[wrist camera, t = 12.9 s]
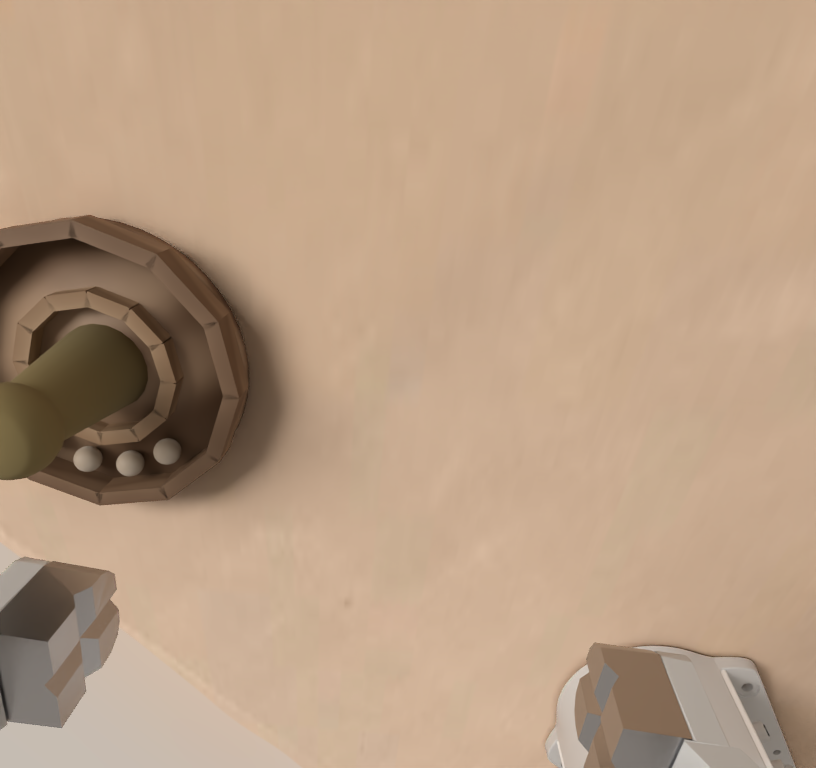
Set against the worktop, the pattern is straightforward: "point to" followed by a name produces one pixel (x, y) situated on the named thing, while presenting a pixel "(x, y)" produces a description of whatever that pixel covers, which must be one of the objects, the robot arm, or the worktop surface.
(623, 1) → the worktop surface
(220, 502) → the worktop surface
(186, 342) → the tray
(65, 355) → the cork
